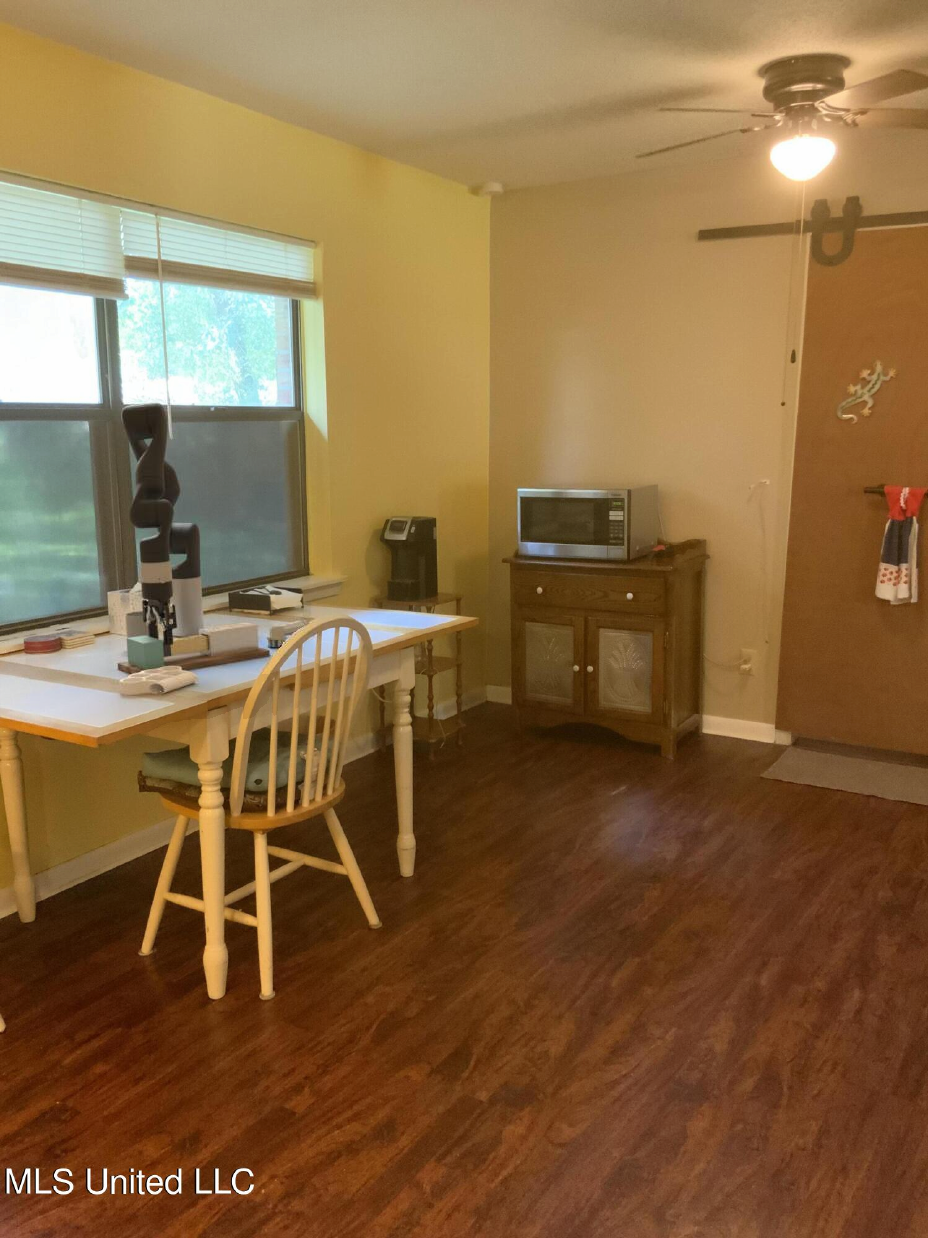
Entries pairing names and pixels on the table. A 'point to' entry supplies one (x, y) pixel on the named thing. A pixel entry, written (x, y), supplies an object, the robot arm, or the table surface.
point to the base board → (199, 660)
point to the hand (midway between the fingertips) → (161, 642)
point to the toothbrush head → (283, 632)
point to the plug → (186, 645)
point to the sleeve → (230, 638)
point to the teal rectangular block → (145, 652)
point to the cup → (136, 625)
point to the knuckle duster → (156, 680)
